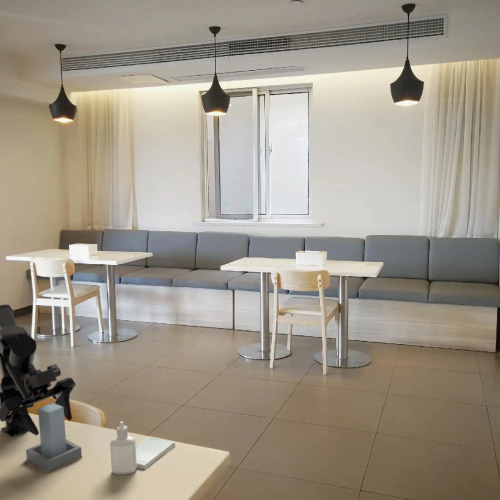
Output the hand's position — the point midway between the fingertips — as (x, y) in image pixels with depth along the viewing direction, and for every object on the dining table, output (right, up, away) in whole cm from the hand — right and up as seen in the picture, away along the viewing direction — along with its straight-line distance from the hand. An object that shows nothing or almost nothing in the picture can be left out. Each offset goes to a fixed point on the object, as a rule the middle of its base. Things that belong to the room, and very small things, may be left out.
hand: (54, 426), depth 127 cm
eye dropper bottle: (+18, -9, -5) cm, 21 cm away
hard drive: (+22, -8, +3) cm, 24 cm away
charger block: (-1, -8, +2) cm, 8 cm away
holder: (-1, -8, +2) cm, 8 cm away
